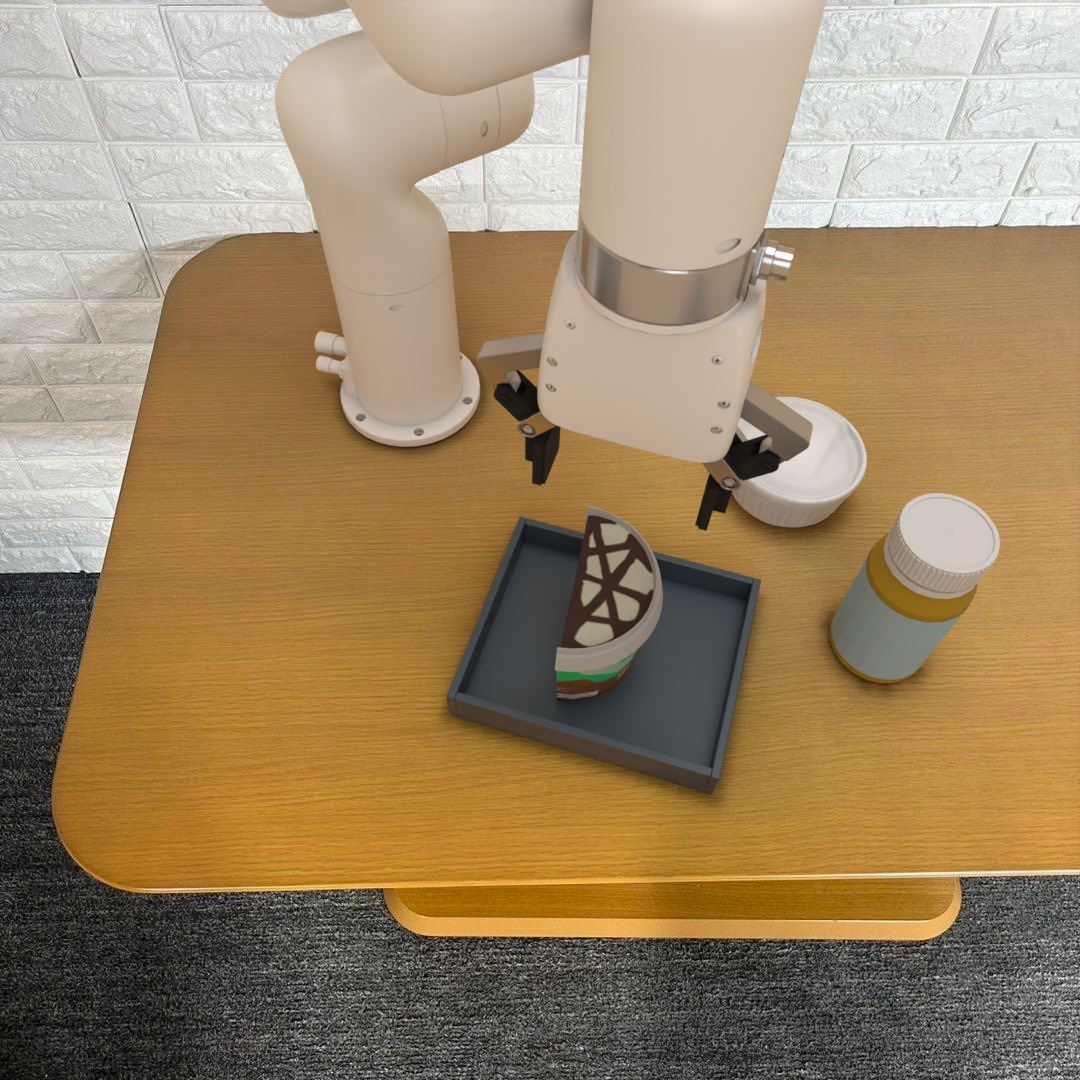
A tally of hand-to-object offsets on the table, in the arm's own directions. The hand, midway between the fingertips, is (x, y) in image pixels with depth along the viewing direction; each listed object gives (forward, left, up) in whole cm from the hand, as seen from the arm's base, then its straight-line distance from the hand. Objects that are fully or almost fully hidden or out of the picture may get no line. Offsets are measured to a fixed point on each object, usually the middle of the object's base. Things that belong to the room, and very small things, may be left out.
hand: (624, 487), depth 52 cm
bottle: (+20, +6, -19) cm, 28 cm away
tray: (+1, -1, -19) cm, 19 cm away
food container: (+1, -1, -19) cm, 19 cm away
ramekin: (+11, +19, -19) cm, 29 cm away
